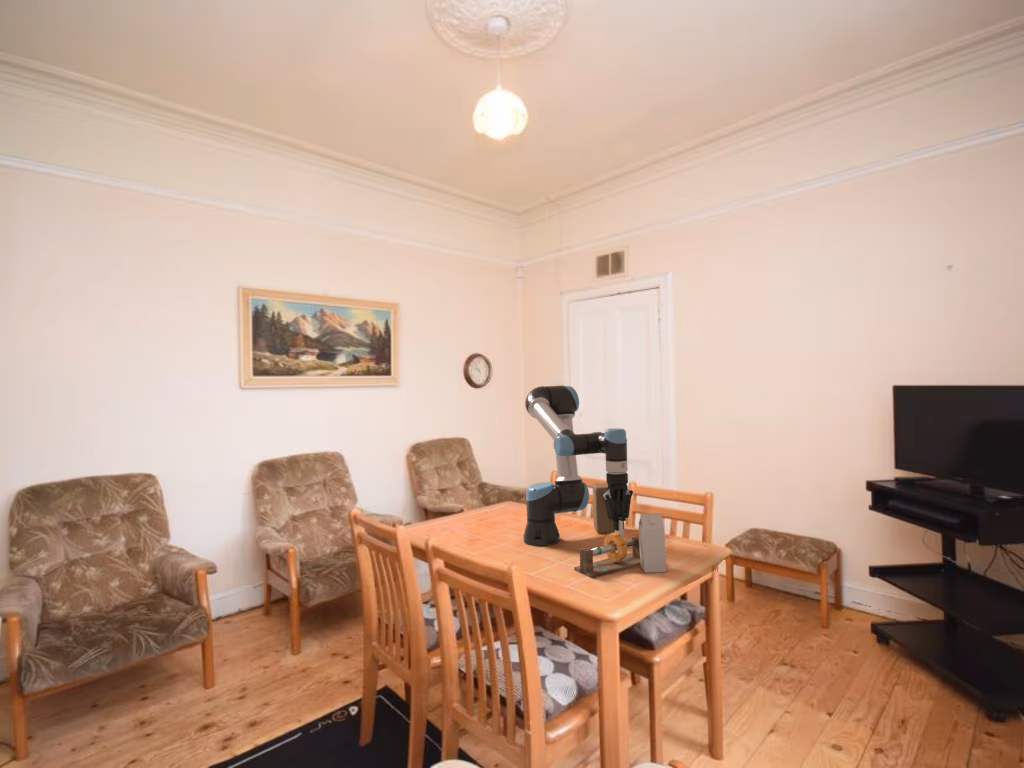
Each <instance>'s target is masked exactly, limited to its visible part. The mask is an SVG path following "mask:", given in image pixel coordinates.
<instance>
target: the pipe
mask: <svg viewBox="0 0 1024 768" xmlns="http://www.w3.org/2000/svg"><path fill="white" fill-rule="evenodd" d="M625 542H626V544H625V545H627V548H632V546H636V545H637V544H638V543H637V540H636V539H633V540H632V539H630V540H625ZM590 549H591V548H590ZM591 550H593V557H594V556H600V555H602V554H606V553H607V552H611V551H617V545H616V543H613V544H612V545H607V546H604V545H602V546H597V547H594V548H592V549H591Z"/></svg>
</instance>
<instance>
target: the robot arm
mask: <svg viewBox="0 0 1024 768" xmlns="http://www.w3.org/2000/svg"><path fill="white" fill-rule="evenodd" d="M524 405H525V409H526V412H527V413H528V414H529V415H530V417H532V418H534V419H536V420H537V422H538V423H540V425H541V426H542V428H543V429H544V430H545V431H546V432H547V433H548V435H549V436H550V437H551V438H552V440H553V449H554V452H555V460H556V470H557V477H556V478H555V479H554V483H553V482H550V481H545V482H543V481H542V482H537V483H534V484H531V485H529V486H528V487H527V488H526V490H525V491H526V492H525V501H526V525H525V528H524V533H523V542H524V543H525V544H527V545H531V546H543V547H544V546H551V545H555V544H557V543H560V541H561V537H560V535H561V534H560V532H559V529H558V527H557V523H556V517H555V516H556V515H557V514H563V513H572V512H574V513H575V512H578V511H583V510H584V509H585V508H586V507H587V506H588V503H589V500H590V491H589V487H588V485H587V483H585V482H583V478H582V477H581V476H579V474H578V473H579V472H578V464H577V463H578V462H577V456H580V455H581V456H582V455H595V454H596V455H597V454H605V471H606V475H605V476H606V477H605V478H606V479H605V480H606V484H608V488H607V492H606V493H605V494H602V497H603V499H604V501H605V506H606V510H607V514H608V519H609V520H613V526H614V530H615V533H618V534H620V536H622V537H623V538H624V537H625V536H624V530H625V522H626V521H627V519H628V518H629V516H630V509H631V501H632V496H633V494H634V490H631V489H629V487H628V483H629V473H627V472H628V443H627V442H628V439H627V432H626V430H625V429H624V428H606V429H605V430H604V432H601V431H595V432H591V433H578V434H577V433H574V425H573V419H574V417H575V416H576V412H577V411H578V410H579V407H580V406H579V405H580V398H579V395H578V392H577V391H576V390H575V388H574V387H573V386H570V385H549V386H548V385H547V386H544V385H543V386H542V385H541V386H537V387H534V388H533V389H531V390H530V391H529V392H528V394H527V396H526V398H525V403H524Z"/></svg>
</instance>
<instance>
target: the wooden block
mask: <svg viewBox="0 0 1024 768" xmlns="http://www.w3.org/2000/svg"><path fill="white" fill-rule="evenodd" d="M607 488H608V484H607V483H594V484H592V506H593V509H592V510H593V527H594V529H595V531H596V532H597V534H601V535H602V534H603V535H604V534H610V533H614V532H615V530H614V526H613V520H609V519H608V514H607V510H606V506H605V501H604V499H603V497H602V494H605V493H606V492H607Z"/></svg>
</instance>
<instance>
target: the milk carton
mask: <svg viewBox="0 0 1024 768" xmlns="http://www.w3.org/2000/svg"><path fill="white" fill-rule="evenodd" d="M639 516H640V517H639V520H638V536H639V544H640V566H639V567H641V569H642V570H643V572H644V573H646V574H647V573H666V572H667V565H666V564H667V563H666V562H667V561H666V556H667V555H666V536H665V535H666V533H665V532H666V531H665V525H664V521H663V517H662V512H658V513H657V512H655V513H640V515H639Z"/></svg>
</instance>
